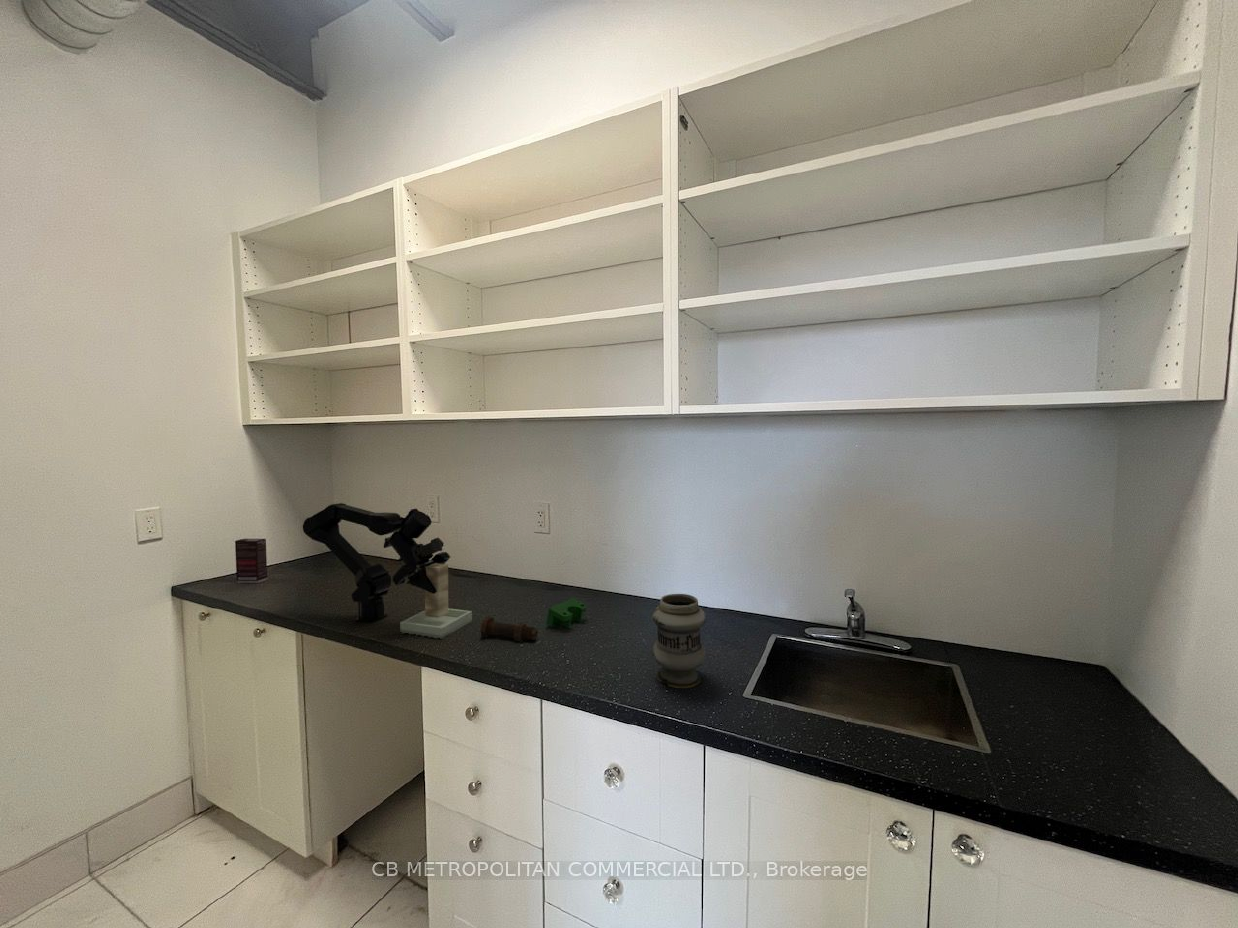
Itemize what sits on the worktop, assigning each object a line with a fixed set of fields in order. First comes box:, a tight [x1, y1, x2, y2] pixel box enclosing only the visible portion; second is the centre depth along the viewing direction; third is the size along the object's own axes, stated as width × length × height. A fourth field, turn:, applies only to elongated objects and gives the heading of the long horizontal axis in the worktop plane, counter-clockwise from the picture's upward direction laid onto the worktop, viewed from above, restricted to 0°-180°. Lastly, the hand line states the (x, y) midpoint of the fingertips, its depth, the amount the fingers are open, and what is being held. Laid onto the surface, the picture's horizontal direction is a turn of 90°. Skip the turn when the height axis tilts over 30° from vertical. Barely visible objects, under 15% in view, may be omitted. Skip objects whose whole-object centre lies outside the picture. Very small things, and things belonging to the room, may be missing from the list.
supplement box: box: [234, 538, 268, 584], centre depth 183 cm, size 9×5×16 cm, turn 88°
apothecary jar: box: [651, 593, 707, 689], centre depth 110 cm, size 12×12×18 cm
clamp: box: [545, 597, 588, 630], centre depth 142 cm, size 12×6×9 cm, turn 141°
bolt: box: [480, 615, 539, 642], centre depth 132 cm, size 6×5×15 cm
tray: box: [399, 607, 473, 640], centre depth 139 cm, size 14×14×3 cm
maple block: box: [424, 563, 449, 618], centre depth 139 cm, size 4×4×14 cm
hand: (440, 590), depth 138 cm, fingers closed on maple block, 4 cm apart
